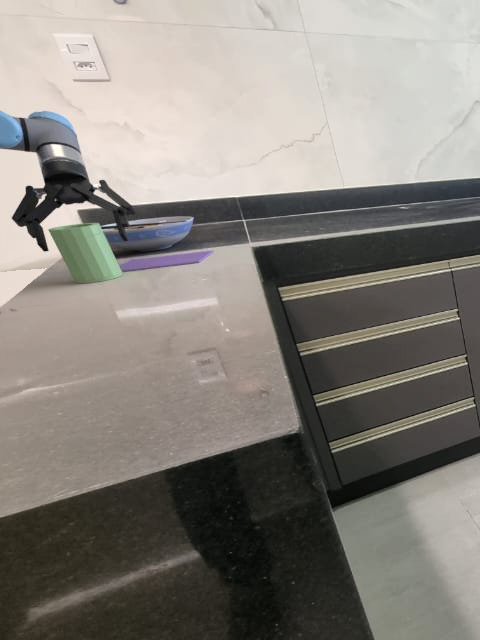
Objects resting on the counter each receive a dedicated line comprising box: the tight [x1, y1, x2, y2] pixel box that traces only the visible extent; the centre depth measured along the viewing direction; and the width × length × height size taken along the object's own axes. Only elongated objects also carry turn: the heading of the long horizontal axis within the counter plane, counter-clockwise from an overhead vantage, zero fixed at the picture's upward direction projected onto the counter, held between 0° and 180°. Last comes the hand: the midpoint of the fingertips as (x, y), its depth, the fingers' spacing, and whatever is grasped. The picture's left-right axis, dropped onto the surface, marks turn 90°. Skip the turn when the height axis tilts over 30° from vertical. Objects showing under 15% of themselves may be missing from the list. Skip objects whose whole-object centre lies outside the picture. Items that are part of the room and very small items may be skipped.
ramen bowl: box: [100, 215, 194, 253], centre depth 151 cm, size 25×23×8 cm
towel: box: [119, 250, 214, 273], centre depth 136 cm, size 18×14×1 cm
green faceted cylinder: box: [48, 222, 124, 284], centre depth 120 cm, size 8×8×12 cm
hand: (84, 242), depth 121 cm, fingers open, 13 cm apart
